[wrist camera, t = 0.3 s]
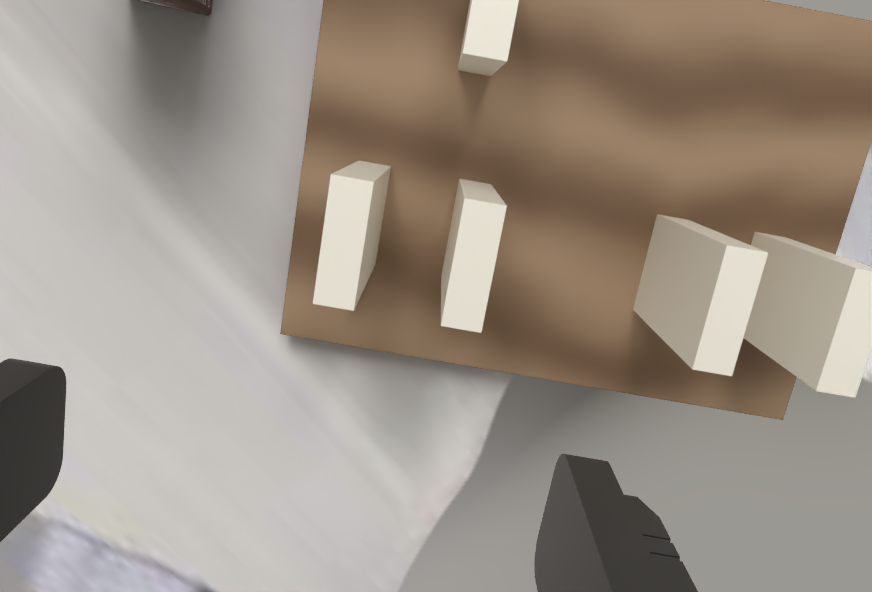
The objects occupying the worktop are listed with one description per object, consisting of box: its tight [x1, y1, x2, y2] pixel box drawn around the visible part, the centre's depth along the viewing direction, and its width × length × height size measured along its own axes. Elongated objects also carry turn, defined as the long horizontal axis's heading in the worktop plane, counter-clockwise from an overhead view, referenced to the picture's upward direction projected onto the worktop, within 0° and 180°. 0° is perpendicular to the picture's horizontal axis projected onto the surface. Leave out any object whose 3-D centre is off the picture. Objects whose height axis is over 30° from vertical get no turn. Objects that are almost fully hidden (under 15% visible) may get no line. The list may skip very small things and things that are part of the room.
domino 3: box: [441, 179, 507, 333], centre depth 31 cm, size 2×5×9 cm, turn 170°
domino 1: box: [313, 161, 391, 311], centre depth 31 cm, size 2×5×9 cm, turn 170°
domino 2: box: [458, 0, 519, 76], centre depth 29 cm, size 2×5×9 cm, turn 170°
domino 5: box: [743, 232, 872, 397], centre depth 32 cm, size 2×5×9 cm, turn 170°
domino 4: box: [633, 214, 768, 376], centre depth 32 cm, size 2×5×9 cm, turn 170°
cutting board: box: [280, 0, 872, 420], centre depth 36 cm, size 20×27×2 cm
